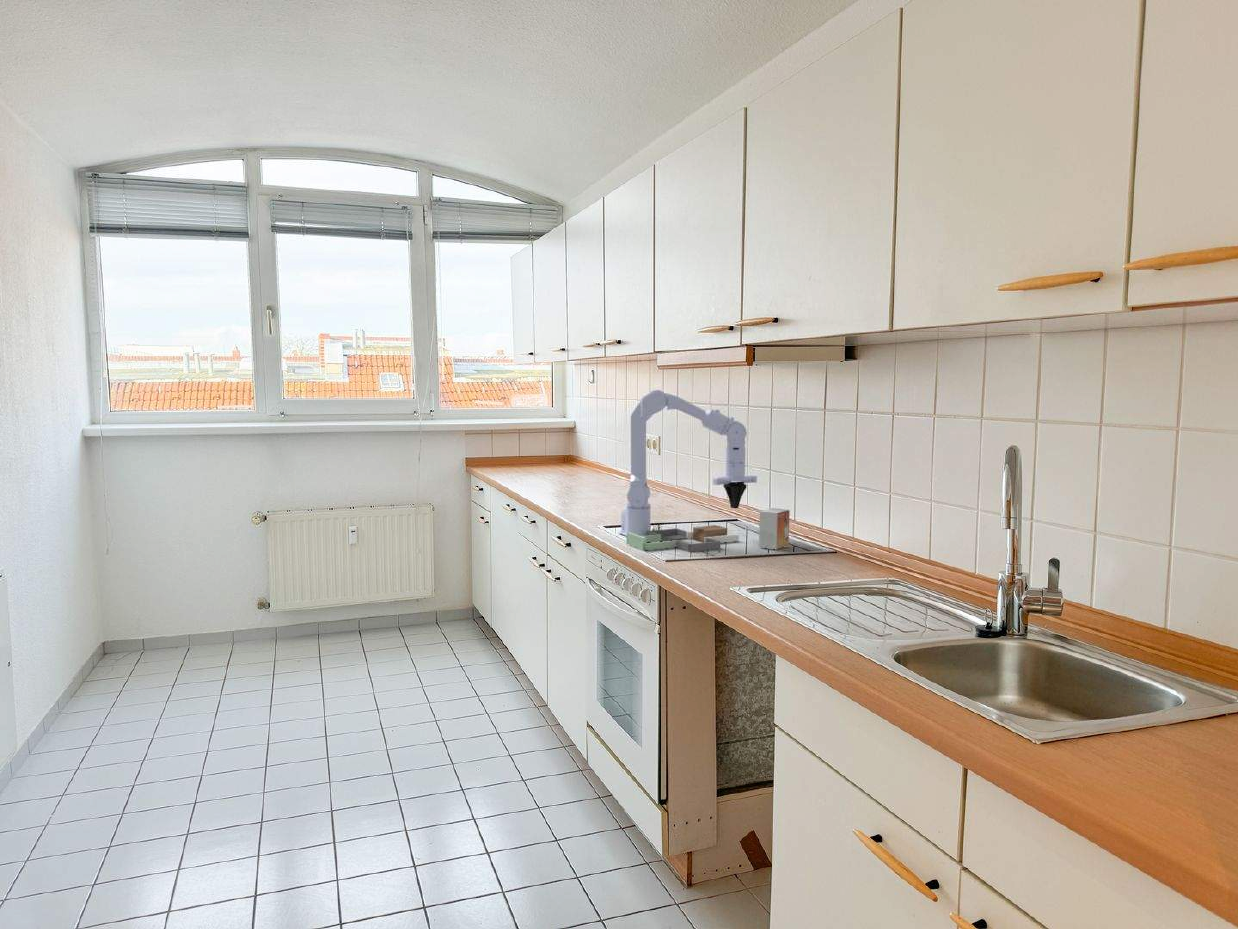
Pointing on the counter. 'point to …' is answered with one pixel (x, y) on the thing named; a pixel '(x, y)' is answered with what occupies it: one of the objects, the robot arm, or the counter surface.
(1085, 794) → the counter surface
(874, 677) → the counter surface
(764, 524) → the small box
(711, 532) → the walnut block
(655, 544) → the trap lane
